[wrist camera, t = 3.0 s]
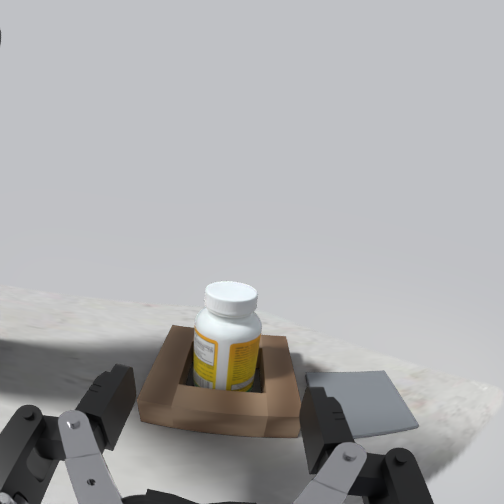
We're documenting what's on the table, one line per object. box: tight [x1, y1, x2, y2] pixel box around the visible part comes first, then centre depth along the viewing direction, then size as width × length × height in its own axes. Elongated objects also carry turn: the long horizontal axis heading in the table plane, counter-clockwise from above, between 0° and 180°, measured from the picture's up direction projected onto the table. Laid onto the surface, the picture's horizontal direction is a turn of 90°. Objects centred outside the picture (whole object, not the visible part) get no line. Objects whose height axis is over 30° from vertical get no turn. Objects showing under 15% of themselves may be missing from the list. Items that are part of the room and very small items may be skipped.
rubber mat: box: [305, 371, 419, 439], centre depth 23 cm, size 9×9×1 cm
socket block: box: [137, 325, 301, 438], centre depth 24 cm, size 12×12×2 cm
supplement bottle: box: [193, 281, 262, 392], centre depth 23 cm, size 5×5×10 cm
